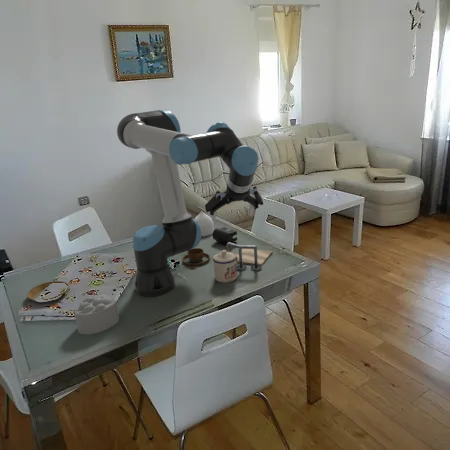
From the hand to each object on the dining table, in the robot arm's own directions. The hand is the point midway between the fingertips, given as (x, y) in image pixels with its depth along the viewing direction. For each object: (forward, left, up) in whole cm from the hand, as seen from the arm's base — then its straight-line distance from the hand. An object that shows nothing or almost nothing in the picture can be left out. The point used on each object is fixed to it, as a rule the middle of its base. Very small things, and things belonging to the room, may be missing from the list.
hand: (231, 215), depth 150 cm
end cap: (+34, +21, -27) cm, 49 cm away
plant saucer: (-33, +64, -27) cm, 77 cm away
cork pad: (+23, +3, -27) cm, 35 cm away
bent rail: (+12, +3, -27) cm, 30 cm away
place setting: (+13, +21, -28) cm, 37 cm away
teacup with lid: (+3, +5, -27) cm, 28 cm away
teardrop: (+44, +38, -27) cm, 64 cm away
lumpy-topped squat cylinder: (-42, +32, -27) cm, 59 cm away
